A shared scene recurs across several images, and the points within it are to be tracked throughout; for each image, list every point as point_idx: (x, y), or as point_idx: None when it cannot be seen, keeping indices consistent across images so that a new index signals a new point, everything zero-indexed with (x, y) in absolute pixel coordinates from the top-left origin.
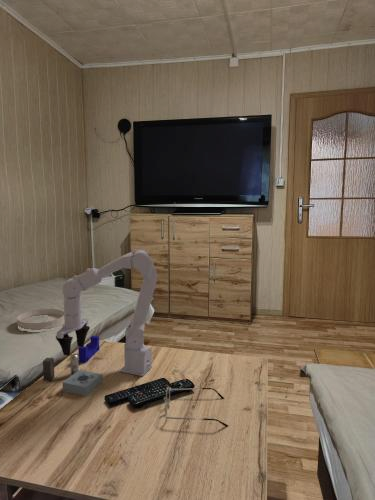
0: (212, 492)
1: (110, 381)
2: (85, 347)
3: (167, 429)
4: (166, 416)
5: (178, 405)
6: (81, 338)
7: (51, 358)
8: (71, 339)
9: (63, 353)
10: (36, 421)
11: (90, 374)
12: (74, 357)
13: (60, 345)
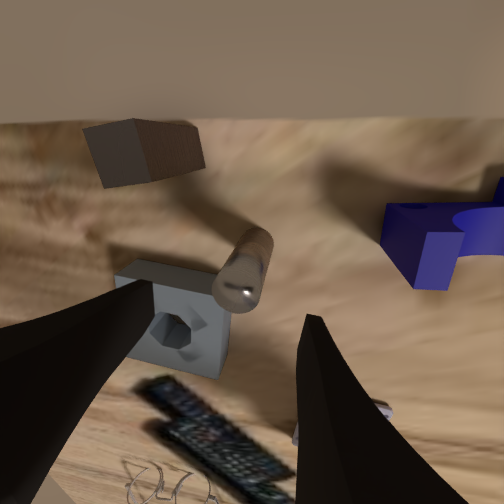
0: (65, 490)
1: (241, 372)
2: (428, 283)
3: (128, 467)
4: (127, 487)
5: (195, 485)
6: (303, 409)
7: (142, 167)
8: (29, 478)
9: (131, 284)
10: (5, 262)
11: (202, 346)
12: (218, 300)
13: (52, 314)
